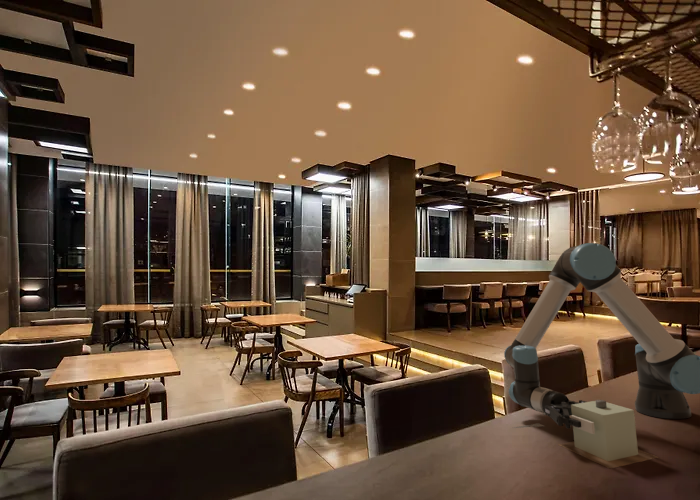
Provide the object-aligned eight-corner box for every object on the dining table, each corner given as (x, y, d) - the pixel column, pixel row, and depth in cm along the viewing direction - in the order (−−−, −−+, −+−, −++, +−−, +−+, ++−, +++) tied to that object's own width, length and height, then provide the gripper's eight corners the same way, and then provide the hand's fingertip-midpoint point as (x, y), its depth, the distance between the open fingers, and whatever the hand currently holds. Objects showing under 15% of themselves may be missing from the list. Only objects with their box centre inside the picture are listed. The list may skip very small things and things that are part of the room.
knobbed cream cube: (603, 440, 113) (598, 394, 114) (638, 454, 103) (632, 403, 104) (574, 446, 110) (570, 398, 111) (608, 461, 100) (602, 408, 101)
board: (602, 440, 116) (602, 435, 116) (659, 462, 101) (659, 457, 101) (557, 449, 112) (557, 444, 112) (610, 473, 96) (609, 468, 97)
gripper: (584, 410, 128) (651, 432, 107) (517, 421, 120) (576, 447, 100) (581, 385, 128) (648, 403, 108) (515, 395, 121) (574, 416, 101)
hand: (614, 424), depth 104 cm, fingers open, 13 cm apart
